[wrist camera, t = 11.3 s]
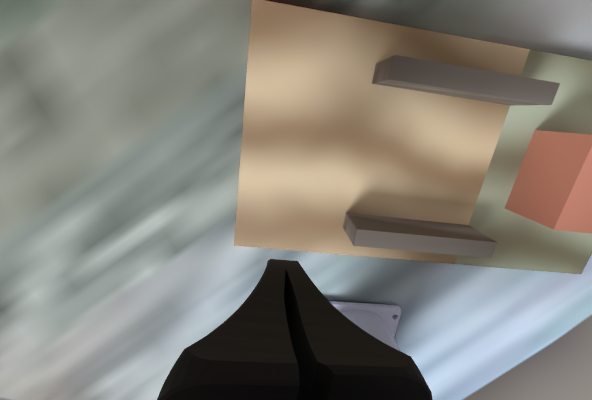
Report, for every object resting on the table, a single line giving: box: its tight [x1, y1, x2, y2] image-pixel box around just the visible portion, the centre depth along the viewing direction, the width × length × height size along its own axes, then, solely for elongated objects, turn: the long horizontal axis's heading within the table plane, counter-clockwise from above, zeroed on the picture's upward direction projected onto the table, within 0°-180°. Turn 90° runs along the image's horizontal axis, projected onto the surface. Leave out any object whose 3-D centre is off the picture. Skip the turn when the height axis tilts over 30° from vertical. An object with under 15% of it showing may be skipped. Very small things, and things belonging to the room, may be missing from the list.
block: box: [505, 130, 592, 234], centre depth 19 cm, size 6×6×4 cm
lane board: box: [234, 0, 592, 274], centre depth 19 cm, size 16×30×4 cm, turn 82°
